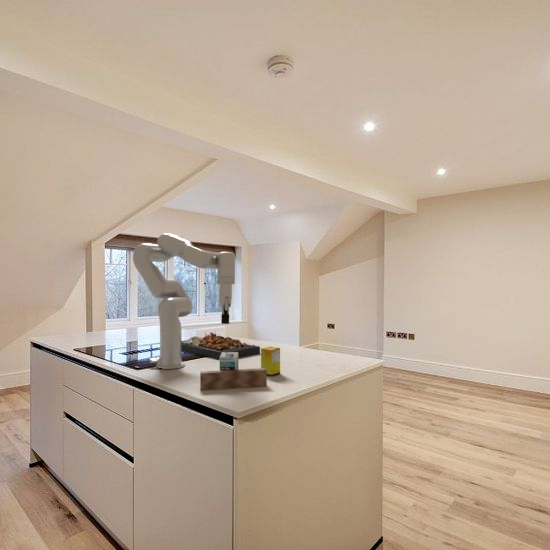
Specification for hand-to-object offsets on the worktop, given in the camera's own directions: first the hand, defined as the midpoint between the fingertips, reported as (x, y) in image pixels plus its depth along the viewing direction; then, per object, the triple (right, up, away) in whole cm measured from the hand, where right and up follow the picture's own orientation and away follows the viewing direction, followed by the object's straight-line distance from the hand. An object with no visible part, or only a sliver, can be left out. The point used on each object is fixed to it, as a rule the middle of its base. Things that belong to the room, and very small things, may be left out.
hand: (225, 323), depth 157 cm
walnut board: (+6, -20, -23) cm, 31 cm away
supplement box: (+20, -21, -4) cm, 29 cm away
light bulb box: (+4, -21, -16) cm, 26 cm away
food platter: (-12, -23, +48) cm, 55 cm away
